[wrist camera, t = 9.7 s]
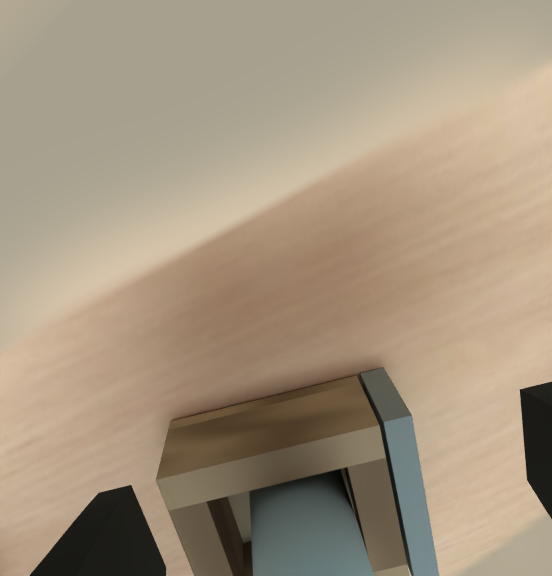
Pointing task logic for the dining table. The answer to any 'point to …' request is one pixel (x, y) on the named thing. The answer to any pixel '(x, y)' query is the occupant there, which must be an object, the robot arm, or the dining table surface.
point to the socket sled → (276, 472)
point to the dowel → (306, 529)
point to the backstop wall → (403, 471)
